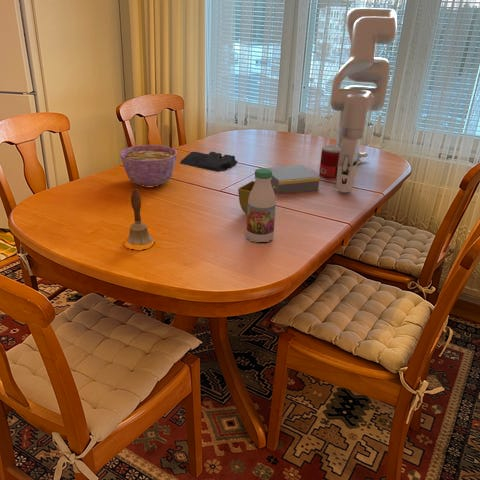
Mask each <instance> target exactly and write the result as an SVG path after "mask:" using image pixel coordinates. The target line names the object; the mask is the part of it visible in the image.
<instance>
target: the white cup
mask: <svg viewBox="0 0 480 480" xmlns="http://www.w3.org/2000/svg"><path fill="white" fill-rule="evenodd" d="M343 166H344V165H343V163H342V165H341V166H338V171H337V178H336V184H335V188H336V190H337V191H339V192H340V193H341V192H343V193H349V192H352V191H353V188H354V182H355V177H356V172H357V169H358V165H357V162H356V161H355V162H354V164H353V166H352V167H351V168H350V167H349V165H348V166H347V169H348V171H349V170H350V172H349V176H348V174H347V175H341V172H342V169H343ZM342 177H343V180H345V179H346V178H347V182H346V184H342ZM343 182H345V181H343Z"/></svg>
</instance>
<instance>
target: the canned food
mask: <svg viewBox="0 0 480 480" xmlns="http://www.w3.org/2000/svg"><path fill="white" fill-rule="evenodd" d="M340 149H341V148H340V147H337V146H336V145H323V146H322V147H321V153H320V161H319V162H320V163H319V170H318V171H319V173H318V174H319V177H322V178H324V179H337V171H338V161H339V155H340Z"/></svg>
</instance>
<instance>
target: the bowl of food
mask: <svg viewBox="0 0 480 480" xmlns="http://www.w3.org/2000/svg"><path fill="white" fill-rule="evenodd" d="M119 155H120V159H121V162H122V166H123V168H124V171H125V173H126V176H127V177H128V179H129V180H130V181H131V182H133V183H134V184H136V185H139V186H141V185H144V186H156V185H160V184H161V185H163V184H165V183H167V182H169V180H171V178H172V177H173V173H174V170H175V166H176V160H177V155H178V151H177V150H176V149H175V148H172V147H170V146H167V145H160V144H159V145H158V144H157V145H156V144H144V145H143V144H142V145H134V146H129V147H127V148H124V149H123V150H121V151H120V152H119ZM161 185H160V186H161Z"/></svg>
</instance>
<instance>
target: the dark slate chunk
mask: <svg viewBox="0 0 480 480" xmlns="http://www.w3.org/2000/svg"><path fill="white" fill-rule="evenodd" d="M237 163H239V162H238V160H236V156H235V155H230V154H222V153H221V152H215V151H210V152H209V153H204V152H199V151H191V152H190V153H188V154H187V155H186V156H185V157H183V159H181V161H180V162H179V164H181V165H185V166H190V167H194V168H198V169H203V170H209V171H213V172H218V173H219V172H225V171H227V170H229V169H232V168H233V167H236V165H237Z"/></svg>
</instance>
